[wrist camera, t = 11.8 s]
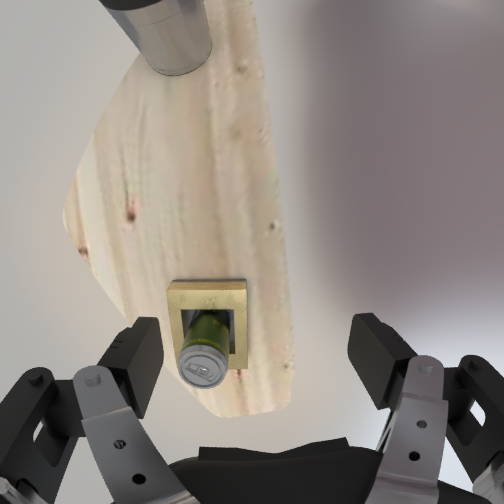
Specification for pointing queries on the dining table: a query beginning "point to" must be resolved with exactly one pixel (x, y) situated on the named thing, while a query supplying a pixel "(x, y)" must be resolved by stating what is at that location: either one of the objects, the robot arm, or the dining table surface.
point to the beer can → (205, 349)
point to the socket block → (210, 297)
